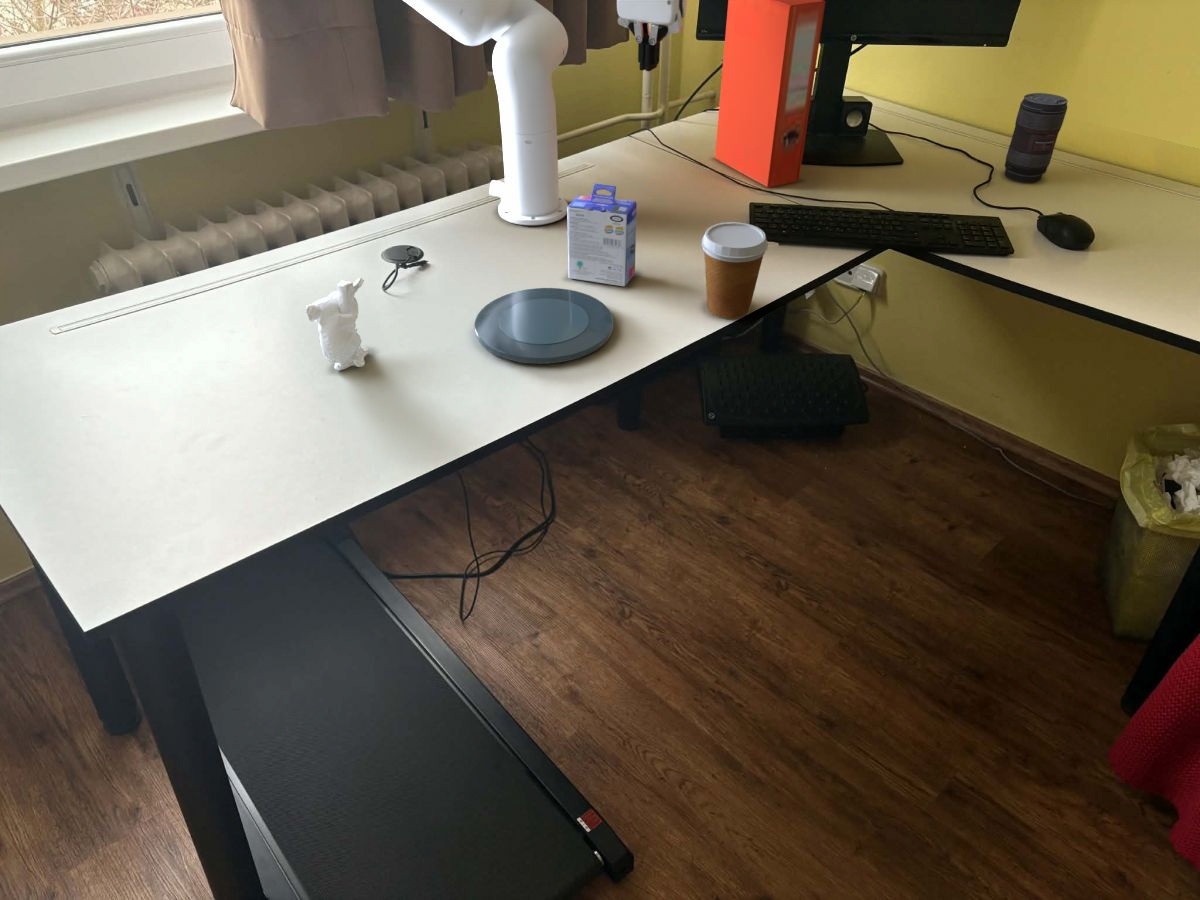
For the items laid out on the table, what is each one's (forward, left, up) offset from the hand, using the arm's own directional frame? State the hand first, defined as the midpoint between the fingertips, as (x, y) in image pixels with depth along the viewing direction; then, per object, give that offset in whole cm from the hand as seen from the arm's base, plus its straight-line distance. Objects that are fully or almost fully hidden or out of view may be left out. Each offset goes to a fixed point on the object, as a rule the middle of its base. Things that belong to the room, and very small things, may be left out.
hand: (648, 68), depth 143 cm
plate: (+2, -40, -26) cm, 48 cm away
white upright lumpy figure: (-18, -59, -26) cm, 67 cm away
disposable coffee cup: (+24, -22, -26) cm, 42 cm away
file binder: (+10, +33, -26) cm, 43 cm away
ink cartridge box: (+2, -21, -26) cm, 34 cm away
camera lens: (+58, +52, -26) cm, 82 cm away
